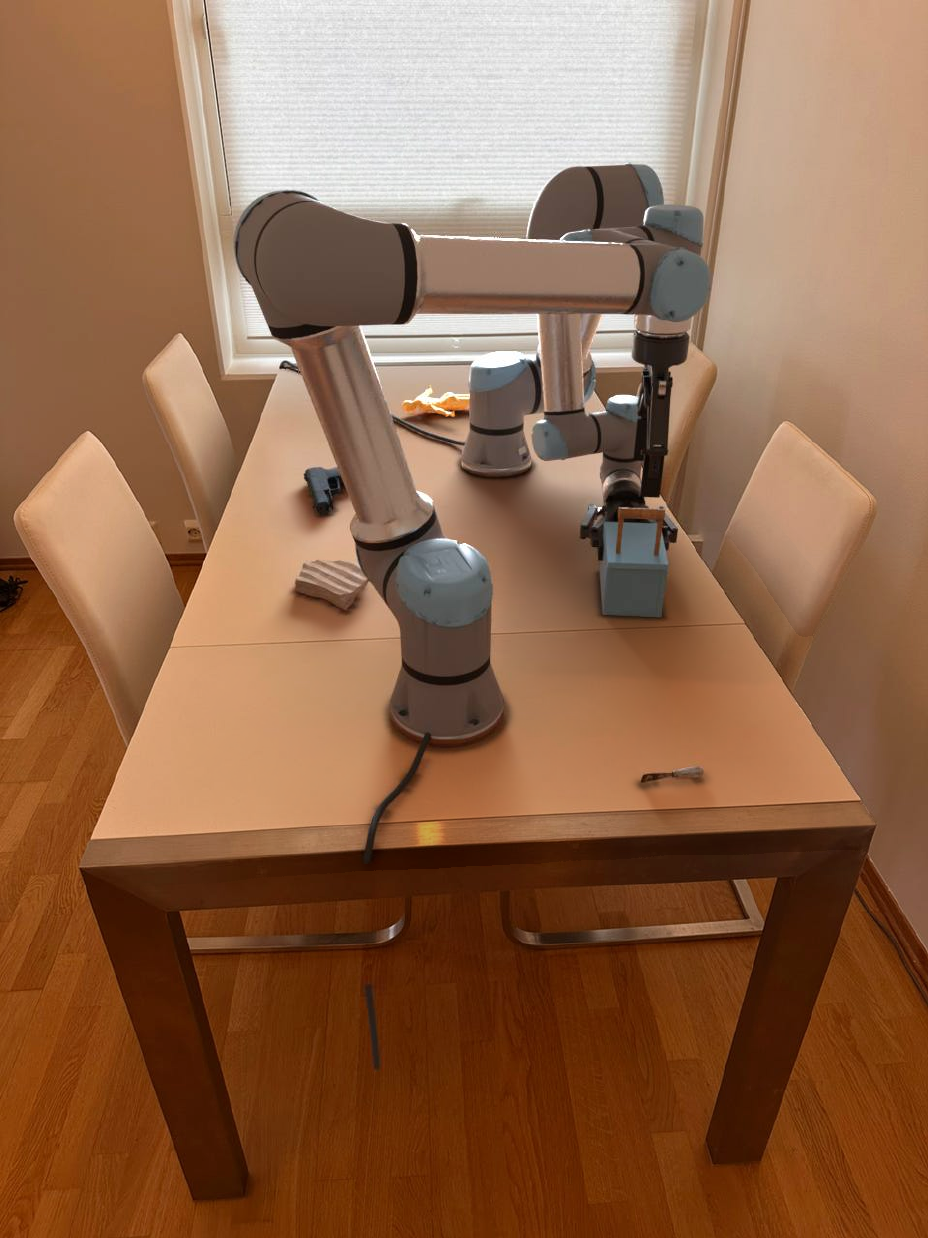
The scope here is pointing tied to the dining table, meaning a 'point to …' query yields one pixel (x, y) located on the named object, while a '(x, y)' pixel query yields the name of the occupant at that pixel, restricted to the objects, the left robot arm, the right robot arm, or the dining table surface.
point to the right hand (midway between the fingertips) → (631, 554)
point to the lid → (636, 540)
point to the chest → (631, 590)
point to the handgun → (323, 487)
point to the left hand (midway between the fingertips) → (645, 477)
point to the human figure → (437, 403)
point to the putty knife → (674, 774)
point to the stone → (331, 581)
